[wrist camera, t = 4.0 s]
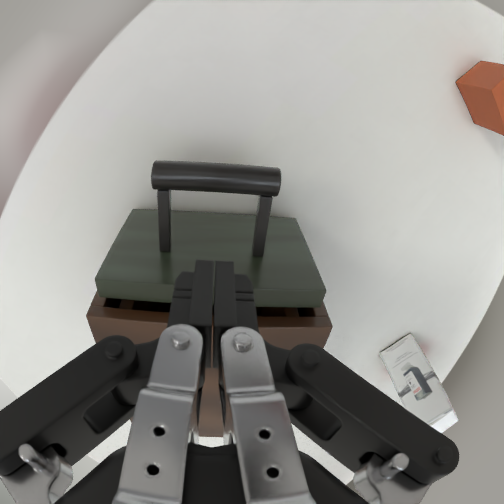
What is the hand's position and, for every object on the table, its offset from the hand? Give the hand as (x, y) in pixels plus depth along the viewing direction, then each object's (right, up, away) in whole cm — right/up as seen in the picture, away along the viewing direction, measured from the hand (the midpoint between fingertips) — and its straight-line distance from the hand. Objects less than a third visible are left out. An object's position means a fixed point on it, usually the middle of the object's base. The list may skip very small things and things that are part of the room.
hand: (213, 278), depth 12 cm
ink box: (+22, -12, +22) cm, 33 cm away
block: (+20, +14, +4) cm, 25 cm away
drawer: (-2, 0, +10) cm, 11 cm away
